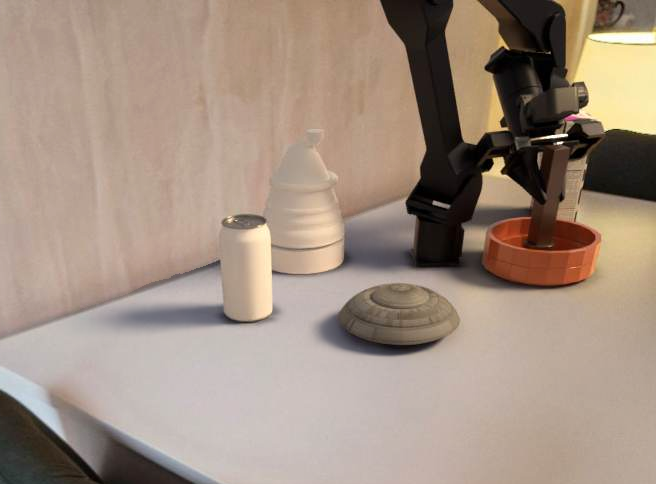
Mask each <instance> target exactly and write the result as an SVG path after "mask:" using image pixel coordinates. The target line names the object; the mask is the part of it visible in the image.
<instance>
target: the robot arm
mask: <svg viewBox="0 0 656 484" xmlns="http://www.w3.org/2000/svg"><path fill="white" fill-rule="evenodd" d="M476 1H477V2H478V3H479V4H480V5H481V6H482V7H483V8H484V9H485V10H486V11H487V12H489V13H490V14H491V16H492V17H494V18H495V19H496V21H497V23H498V25H497V32H498V34H499V36H500V37H501V39H502V41H503V42H504V44H505V45H506V47H507V48H506V47H505V46H504V45H502V46H500V47H498V49H496V50H495V51H494V52H493V53H491V55H490V57H489V59H488V61H487V62H486V64H485V65H484V67H483V69H484V71H485V72H487V73H490V74H492V81H493V84H494V87H495V91H496V94H497V97H498V100H499V104H500V108H501V111H502V114H503V116H502V118H501V119H500V120H499V125H500V128H501V129H505V128H507V129H505V130H496V131H495V130H494V131H486V132H484V133H483V135H482V136H481V138H480V139H479V140H478V142H477V143H476V144H475V143H470V142H466V141H465V140H464V138H463V133H462V128H461V122H460V121H461V120H460V115H459V109H458V104H457V103H458V102H457V98H456V97H457V96H456V92H455V85H454V80H453V73H452V67H451V62H450V61H451V60H450V55H449V49H448V44H447V43H448V42H447V37H446V29H447V26H448V24H449V20H450V18H451V16H452V12H453V9H454V0H379V2H380V4H381V8H382V10H383V13H384V16H385V19H386V21H387V23H388V25H389V27H391V29H392V30H393V32H394V33H395V34H396V35H397V37H398V38H399V39H400V41H401V42H402V43H403V45H404V48H405V52H406V57H407V61H408V67H409V70H410V76H411V81H412V86H413V91H414V96H415V100H416V105H417V110H418V114H419V120H420V126H421V130H422V135H423V139H424V144H425V152H424V155H423V156H422V160H421V163H420V165H419V176H420V178H419V180H418V181H417V182H416V184H415V186H414V187H413V189H412V191H411V192H410V193H409V195H408V197H407V198H406V200H405V208H406V213H407V215H412V216H415V223H414V233H413V235H414V237H413V245H412V248H411V249H410V255H411V257H412V260H413V261H414V264H415V266H417V267H444V266H447V267H448V266H460V265H461V260H460V258H461V257H462V255H463V247H464V239H465V231H466V230H465V228H464V227H463V224H464V223H467V222H470V221H472V219H473V217H474V214H475V210H476V208H477V205H478V202H479V199H480V197H481V194H482V190H483V183H484V180H483V179H484V177H483V174H485V173H489V172H490V171H491V170H492V169H493V166H494V165H495V161H494V159H498V158H502V159H503V165H504V166H503V167H502V168H501V169H500V171H499V173H500V175H501V176H507V177H508V178H509V179H511V180H512V181H513V182H515V183H516V184H517V185H519V187H521V188H522V189H523V190H524V191H525V192H526V193H527V194H528V195H529V196H531V198H532V197H533V198H534V199H535V200H536V201H537V202H538V203H539V204H540V205H544V204H545V203H546V202H547V196H546V191H545V187H544V183H543V180H542V177H541V173H540V170H539V166H538V158H539V153H542V154H543V149H544V146H547V145H556V144H561V145H563V146H566V147H569V148H570V153H569V158H568V162H570V161H578V160H581V159H583V158H585V157H586V156H587V155H588V154H589V153H591V152H592V151H593V150H594V149H595V148H596V147H597V146H598V145H599V144H600V143H601V142H602V140H604V139H605V138H606V137H607V135H606V131H605V128H604V124H603V123H602V121H599V120H597V119H596V120H594V121H585V122H576V123H574V125H573V126H572V127H571V128H570V129H569V130H568V131H567V132H566V133H565V134H562V135H555V134H556V133H555V131H556V130H557V129H560V128H561V127H562V126H563V125H564V124H565V123H564V120H563V119H564V118H566V117H568V116H570V115H573V114H574V115H576V114H578V113H579V109H583V108H586V107H587V106H588V104H589V101H590V97H589V90H588V87H587V86H586V85H587V84H586V83H585V81H584V80H583V81H575V82H572V83H571V84H570V81H568V79H567V78H566V77H567V75H568V73H569V69H568V68H566V65H567V17H566V11H565V9H564V7H563V5H562V4H561V3H559V2H557V1H555V0H476ZM589 155H590V154H589ZM567 167H568V163H567ZM566 176H567V168H566V173H565V178H564V183H563V188H562V192H561V197H560V203H561V202H562V201H563V200H564V199H565V189H566ZM434 202H437V203H441V204H443V205H448V206H449V207H448V208H447V207H443V206H440V205H437V204H434Z"/></svg>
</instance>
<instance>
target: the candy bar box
mask: <svg viewBox="0 0 656 484" xmlns="http://www.w3.org/2000/svg"><path fill="white" fill-rule="evenodd" d="M563 120H564V123H565V124H564V125H563V126H562V127H561V128H560V129H557V130H556V131H555V133H556V134H555V135H562V134H565V133H566V132H567V131H568V130H569V129H570V128H571V127H572V126H573V125H574V123H576V122H585V121H594V120H596V121H597V118H596V117H594V116H593V115H591V114H589V112H586V110H584V109H583V108H581V109H579V113H578V114H576V115H574V114H573V115H570V116H568V117H566V118H564V119H563ZM590 153H591V152H590ZM590 153H589V154H588V155H587V156H586V157H585V158H583V159H581V160H578V161H570V162H568V167H567V176H566V189H565V199H564V200H563V201H562V202H561V203H559V208H558V213H557V219H563V220H569V221H573V222H577V220H576V219H577V216H578V212H579V211H578V210H579V206H580V202H581V196H582V193H583V192H582V191H583V188H584V187H583V186H584V182H585V176H586V173H587V168H588V163H589V158H590ZM541 160H542V153H538V160H537V162H538V166H539V170H540V165H541ZM533 204H534V198H533V197H532V196H531V201H530V205H529V209H530V210H531V211H532V210H533Z"/></svg>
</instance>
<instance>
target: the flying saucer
mask: <svg viewBox="0 0 656 484" xmlns="http://www.w3.org/2000/svg"><path fill="white" fill-rule="evenodd" d="M338 321H339V323H340V324H341V326H342V327H343V328H344V329H345V330H346V331H348V332H349V333H351V334H353V335H354V336H356V337H358V338H360V339H363V340H367V341H369V342H374V343H378V344H383V345H393V346H413V345H420V344H427V343H431V342H434V341H438V340H441V339H443V338H445V337H447V336H449V335H450V334H452V333H453V332H454V331H456V330H457V329H458V327H459V325H460V323H461V322H460V321H461V319H460V315H459V313H458V311H457V310H456V308H455V307H454V306H453V304H452V302H450V301H449V300H448V299H447V298H446V297H445V296H444V295H442V294H440V293H439V292H436V291H434V290H432V289H430V288H427V287H425V286H422V285H417V284H413V283H405V282H404V283H403V282H396V283H395V282H393V283H384V284H379V285H375V286H371V287H369V288H366V289H364V290H361V291H360V292H358V293H356V294H355V295H354V296H352V297H351V298H349V300H347V302H346V303H344V305H343V307H341V309H340V311H339V313H338Z"/></svg>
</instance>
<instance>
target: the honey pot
mask: <svg viewBox="0 0 656 484" xmlns="http://www.w3.org/2000/svg"><path fill="white" fill-rule="evenodd" d="M325 133H326V131H325V129H322V128H309V129H307V130H305V135H306V138H307V139H306V140H304V139H300V140H297V141H294V143H292V145H290V146H289V147H288V149H287V150H286V151H285V153H284V155H283V157H282V158H281V161H280V163H279V165H278V168H277V170H276V172H274V173H272V174H271V175H270V176H269V178H268V183H269V185H270V186H271V187H270V190H269V193H268V197H267V198H266V200H265V202H264V205H265V207H264V210H263V212H262V216H263V217H264V218H266V220H267V222H266V224H267V227H268V229H269V231H270V237H271V268H272V272H273V271H274V272H278V273H281V274H282V273H283V274H290V275H309V274H319V273H324V272H327V271H331V270H334V269H336V268H337V267H339V266H341V265H342V264H343V262H344V260H345V233H346V232H345V227H346V224H345V221H344V219H343V217H342V215H341V214H342V211H341V209H340V206H339V201H340V200H339V199H338V198H337V196H336V192H335V189H334V187H335V186H336V185H337V184H338V182H339V177H338V175H337V174H336V173H335V172H333V171H332V170H328V169H327V167H326V165H325V162H324V160H323V158H322V157H321V155H320V154H319V152H318V150H317V149H316V147H318V146H320V145H321V143H322V141H323V140H324V137H325Z"/></svg>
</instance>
